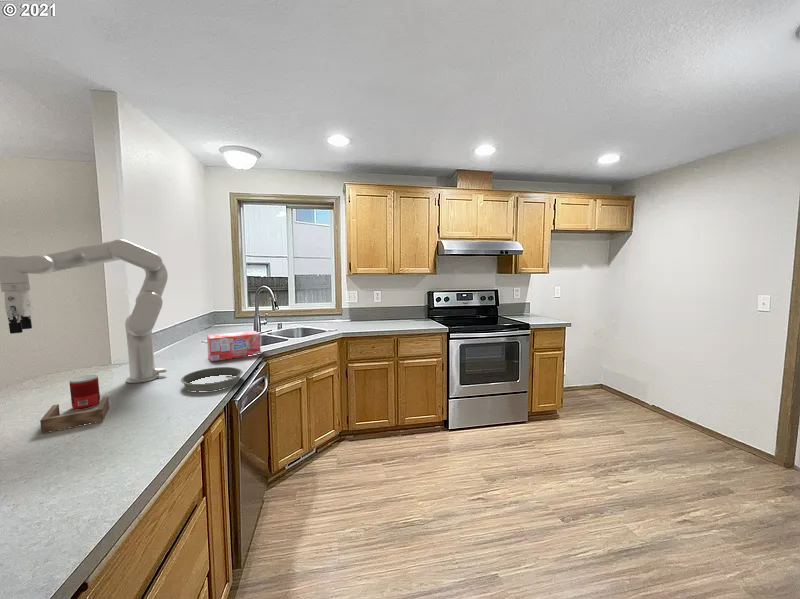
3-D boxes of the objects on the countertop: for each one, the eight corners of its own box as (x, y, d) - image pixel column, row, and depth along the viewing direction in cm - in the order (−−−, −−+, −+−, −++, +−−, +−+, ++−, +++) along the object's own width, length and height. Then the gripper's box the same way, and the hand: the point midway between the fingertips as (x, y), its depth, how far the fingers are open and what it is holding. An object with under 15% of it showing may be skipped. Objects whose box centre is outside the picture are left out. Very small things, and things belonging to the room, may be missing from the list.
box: (256, 350, 213) (255, 329, 212) (261, 355, 203) (260, 332, 201) (207, 357, 198) (206, 334, 196) (210, 362, 187) (208, 338, 186)
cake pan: (236, 391, 145) (236, 381, 145) (171, 397, 139) (171, 386, 139) (247, 373, 169) (247, 364, 168) (192, 377, 163) (192, 368, 162)
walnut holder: (109, 407, 128) (108, 396, 128) (103, 421, 117) (102, 409, 116) (54, 417, 120) (52, 405, 119) (41, 433, 108) (40, 420, 108)
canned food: (105, 403, 132) (102, 375, 131) (80, 411, 125) (77, 382, 124) (92, 400, 135) (89, 373, 134) (67, 408, 127) (64, 380, 126)
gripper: (20, 288, 126) (26, 333, 128) (37, 285, 140) (42, 326, 142) (-10, 289, 122) (-3, 336, 124) (10, 286, 136) (16, 328, 138)
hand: (21, 330), depth 133 cm, fingers open, 9 cm apart
